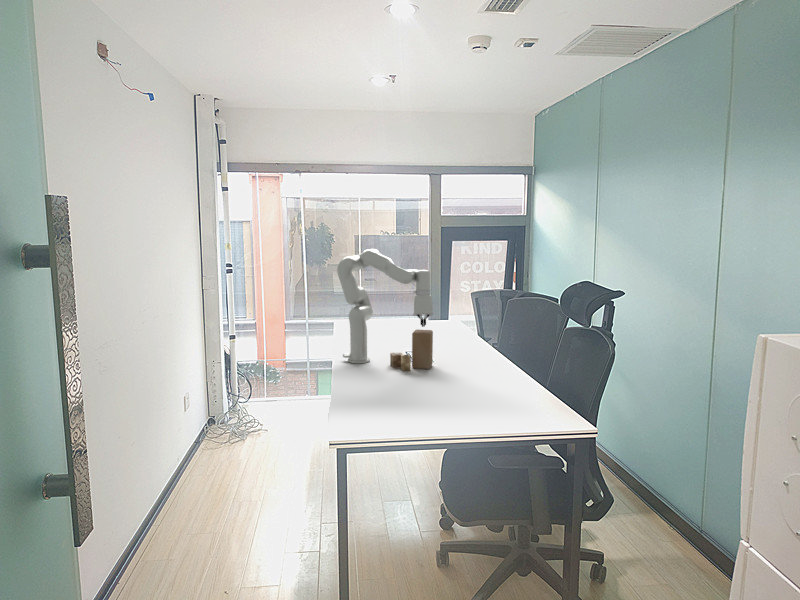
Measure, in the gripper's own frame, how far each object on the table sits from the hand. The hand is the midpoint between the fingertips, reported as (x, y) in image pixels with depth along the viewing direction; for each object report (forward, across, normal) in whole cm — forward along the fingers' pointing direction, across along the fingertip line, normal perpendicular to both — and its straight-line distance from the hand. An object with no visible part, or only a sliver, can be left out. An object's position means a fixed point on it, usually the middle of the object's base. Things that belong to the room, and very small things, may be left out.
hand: (423, 326), depth 305 cm
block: (+23, -1, 0) cm, 23 cm away
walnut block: (+23, -15, +1) cm, 27 cm away
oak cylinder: (+23, -10, -7) cm, 25 cm away
